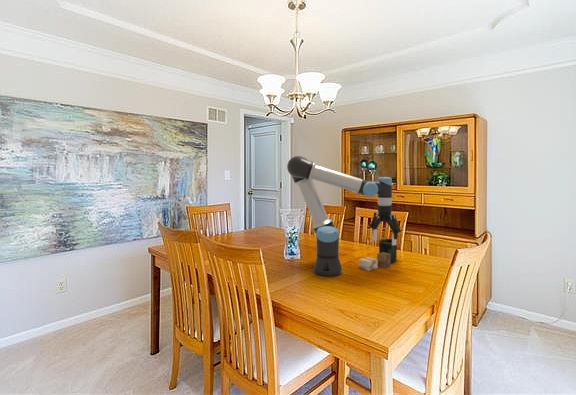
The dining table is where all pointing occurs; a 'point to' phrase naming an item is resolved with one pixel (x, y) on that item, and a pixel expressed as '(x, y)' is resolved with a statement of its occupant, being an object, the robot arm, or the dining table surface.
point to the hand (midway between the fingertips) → (384, 242)
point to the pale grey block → (368, 263)
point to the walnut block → (383, 259)
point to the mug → (388, 248)
